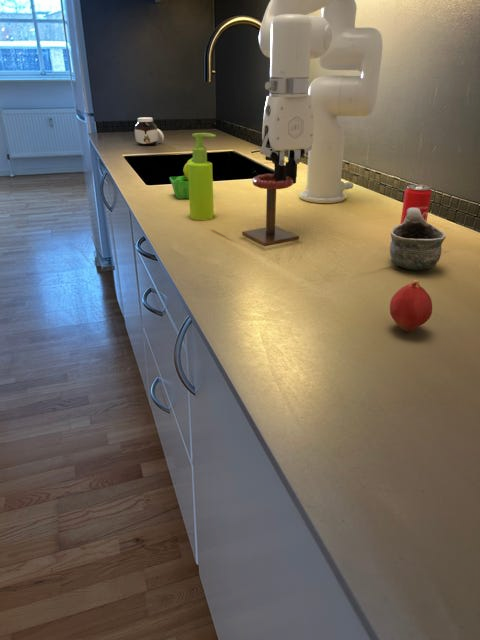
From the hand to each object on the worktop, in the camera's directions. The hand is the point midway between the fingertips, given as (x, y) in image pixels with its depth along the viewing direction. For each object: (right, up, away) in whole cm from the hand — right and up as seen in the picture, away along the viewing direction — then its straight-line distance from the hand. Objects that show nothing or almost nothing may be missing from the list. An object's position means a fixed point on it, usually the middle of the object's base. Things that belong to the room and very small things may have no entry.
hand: (285, 182), depth 108 cm
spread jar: (-51, +53, +131) cm, 150 cm away
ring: (-3, 0, -2) cm, 3 cm away
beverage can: (+27, -13, +2) cm, 30 cm away
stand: (-3, -12, +4) cm, 13 cm away
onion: (+15, -31, -33) cm, 48 cm away
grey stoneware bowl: (+23, -18, -9) cm, 31 cm away
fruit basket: (-23, +6, +40) cm, 47 cm away
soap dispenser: (-19, -3, +20) cm, 28 cm away
